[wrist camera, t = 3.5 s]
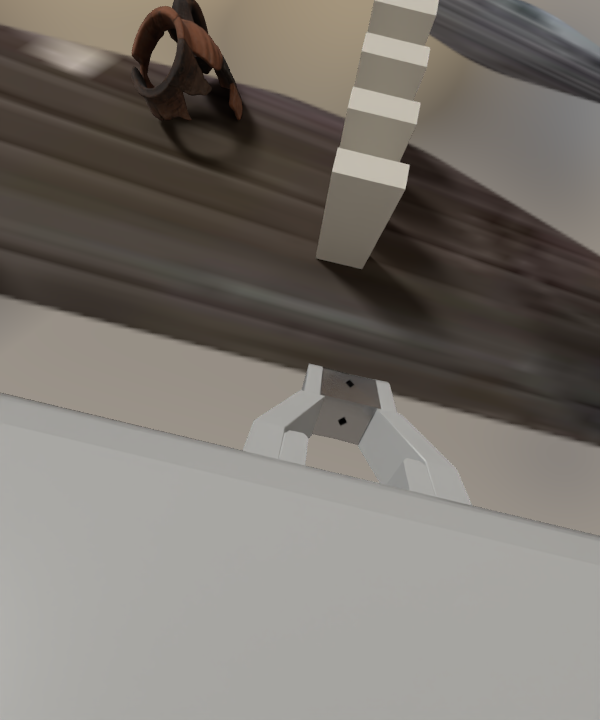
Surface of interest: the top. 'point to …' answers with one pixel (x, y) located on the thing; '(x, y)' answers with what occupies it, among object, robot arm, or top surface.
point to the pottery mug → (180, 61)
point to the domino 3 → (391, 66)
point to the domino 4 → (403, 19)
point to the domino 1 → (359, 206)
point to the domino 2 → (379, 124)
